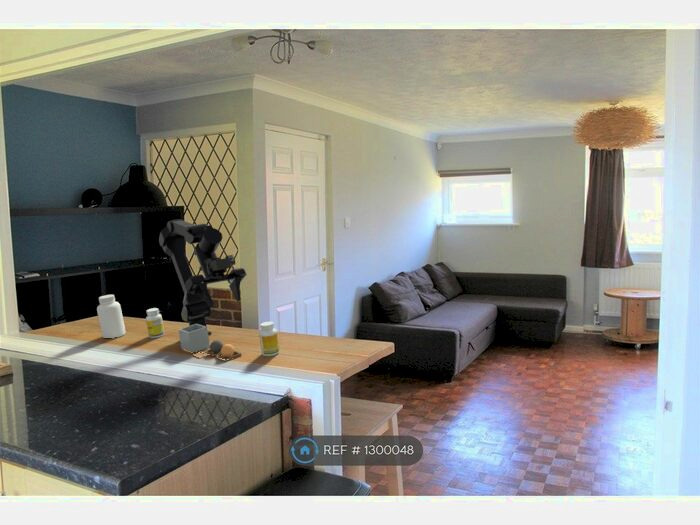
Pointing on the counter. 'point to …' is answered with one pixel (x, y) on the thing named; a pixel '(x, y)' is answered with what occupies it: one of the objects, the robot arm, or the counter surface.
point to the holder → (221, 354)
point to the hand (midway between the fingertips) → (226, 303)
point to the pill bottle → (110, 317)
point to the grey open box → (194, 338)
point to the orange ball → (227, 350)
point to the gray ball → (216, 346)
